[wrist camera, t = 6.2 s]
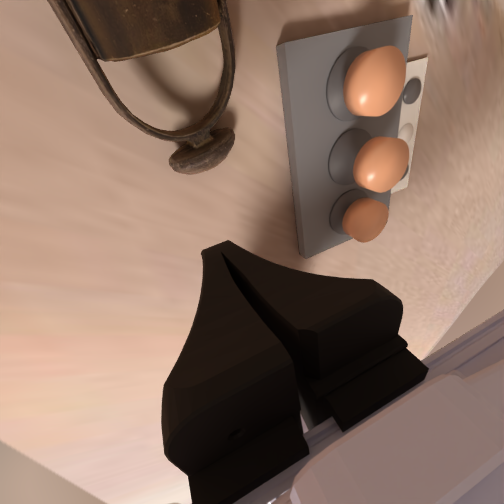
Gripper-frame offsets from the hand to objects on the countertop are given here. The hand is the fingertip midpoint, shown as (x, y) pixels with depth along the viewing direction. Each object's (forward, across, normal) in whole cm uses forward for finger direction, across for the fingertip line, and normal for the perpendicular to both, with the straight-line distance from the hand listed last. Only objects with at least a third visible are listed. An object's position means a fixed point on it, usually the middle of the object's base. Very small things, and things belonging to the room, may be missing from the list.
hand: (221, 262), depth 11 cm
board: (+10, -15, +1) cm, 18 cm away
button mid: (+7, -15, +1) cm, 17 cm away
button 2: (+9, -15, -4) cm, 18 cm away
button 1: (+9, -15, +7) cm, 19 cm away
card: (+10, -23, +1) cm, 25 cm away
